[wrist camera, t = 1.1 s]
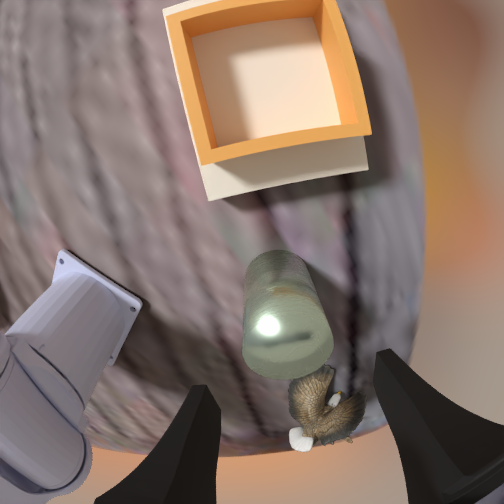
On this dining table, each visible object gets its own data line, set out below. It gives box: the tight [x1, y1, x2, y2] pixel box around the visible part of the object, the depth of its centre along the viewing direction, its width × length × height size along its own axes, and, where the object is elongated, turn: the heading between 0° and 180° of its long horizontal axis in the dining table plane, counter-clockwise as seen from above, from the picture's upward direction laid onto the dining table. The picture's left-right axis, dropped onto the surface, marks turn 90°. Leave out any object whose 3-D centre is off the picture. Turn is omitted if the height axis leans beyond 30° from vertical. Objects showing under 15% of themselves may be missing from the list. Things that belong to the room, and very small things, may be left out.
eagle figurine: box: [288, 364, 367, 452], centre depth 22 cm, size 8×7×9 cm
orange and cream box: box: [162, 0, 372, 201], centre depth 12 cm, size 12×9×4 cm
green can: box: [242, 250, 334, 380], centre depth 16 cm, size 4×4×7 cm
